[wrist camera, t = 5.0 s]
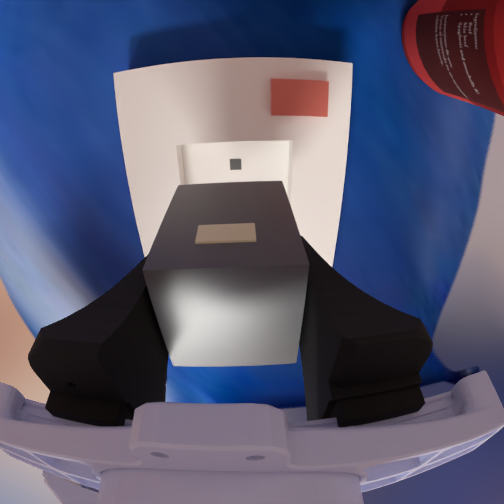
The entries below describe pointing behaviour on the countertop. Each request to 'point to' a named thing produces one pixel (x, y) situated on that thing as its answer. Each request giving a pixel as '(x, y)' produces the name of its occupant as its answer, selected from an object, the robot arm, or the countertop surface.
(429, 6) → the canned food
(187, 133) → the socket plate
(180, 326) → the plug
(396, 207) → the countertop surface
